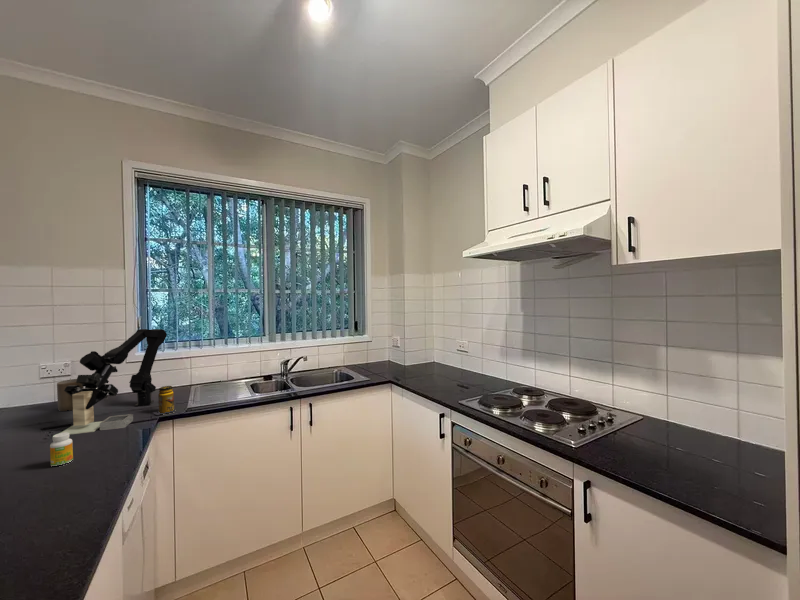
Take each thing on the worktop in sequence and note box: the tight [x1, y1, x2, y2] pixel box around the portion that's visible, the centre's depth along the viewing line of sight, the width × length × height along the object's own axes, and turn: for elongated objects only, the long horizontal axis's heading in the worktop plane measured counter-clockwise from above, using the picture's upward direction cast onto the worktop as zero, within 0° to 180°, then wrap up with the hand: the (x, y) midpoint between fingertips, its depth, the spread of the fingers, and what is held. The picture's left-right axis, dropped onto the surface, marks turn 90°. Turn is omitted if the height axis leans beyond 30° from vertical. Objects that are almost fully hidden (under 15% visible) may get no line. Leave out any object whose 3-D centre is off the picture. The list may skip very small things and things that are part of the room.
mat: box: [60, 420, 103, 436], centre depth 145 cm, size 12×12×1 cm
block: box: [72, 391, 95, 426], centre depth 145 cm, size 4×4×13 cm
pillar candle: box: [56, 378, 85, 412], centre depth 172 cm, size 10×10×15 cm
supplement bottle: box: [49, 432, 74, 467], centre depth 115 cm, size 5×5×10 cm
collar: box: [99, 413, 134, 431], centre depth 148 cm, size 8×8×3 cm
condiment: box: [158, 385, 175, 413], centre depth 164 cm, size 7×8×12 cm
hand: (80, 409), depth 144 cm, fingers closed on block, 4 cm apart
